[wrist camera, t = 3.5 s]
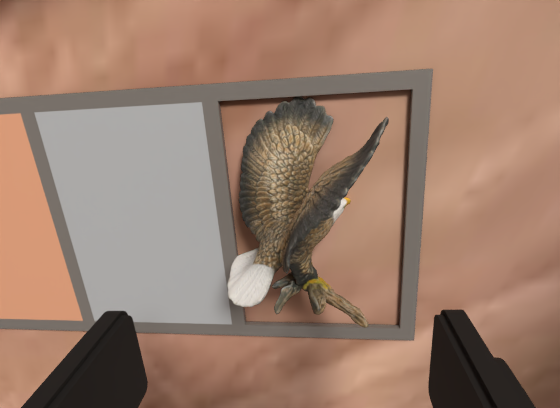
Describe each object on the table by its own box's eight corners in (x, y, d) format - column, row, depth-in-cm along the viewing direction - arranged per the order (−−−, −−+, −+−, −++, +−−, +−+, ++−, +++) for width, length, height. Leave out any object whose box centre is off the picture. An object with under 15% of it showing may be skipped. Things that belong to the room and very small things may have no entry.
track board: (431, 68, 16) (432, 68, 16) (412, 336, 21) (413, 340, 21) (-138, 107, 21) (-144, 108, 20) (-42, 324, 26) (-46, 327, 25)
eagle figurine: (406, 277, 19) (428, 102, 14) (329, 381, 14) (326, 172, 10) (289, 230, 23) (278, 84, 19) (201, 297, 19) (159, 127, 14)
